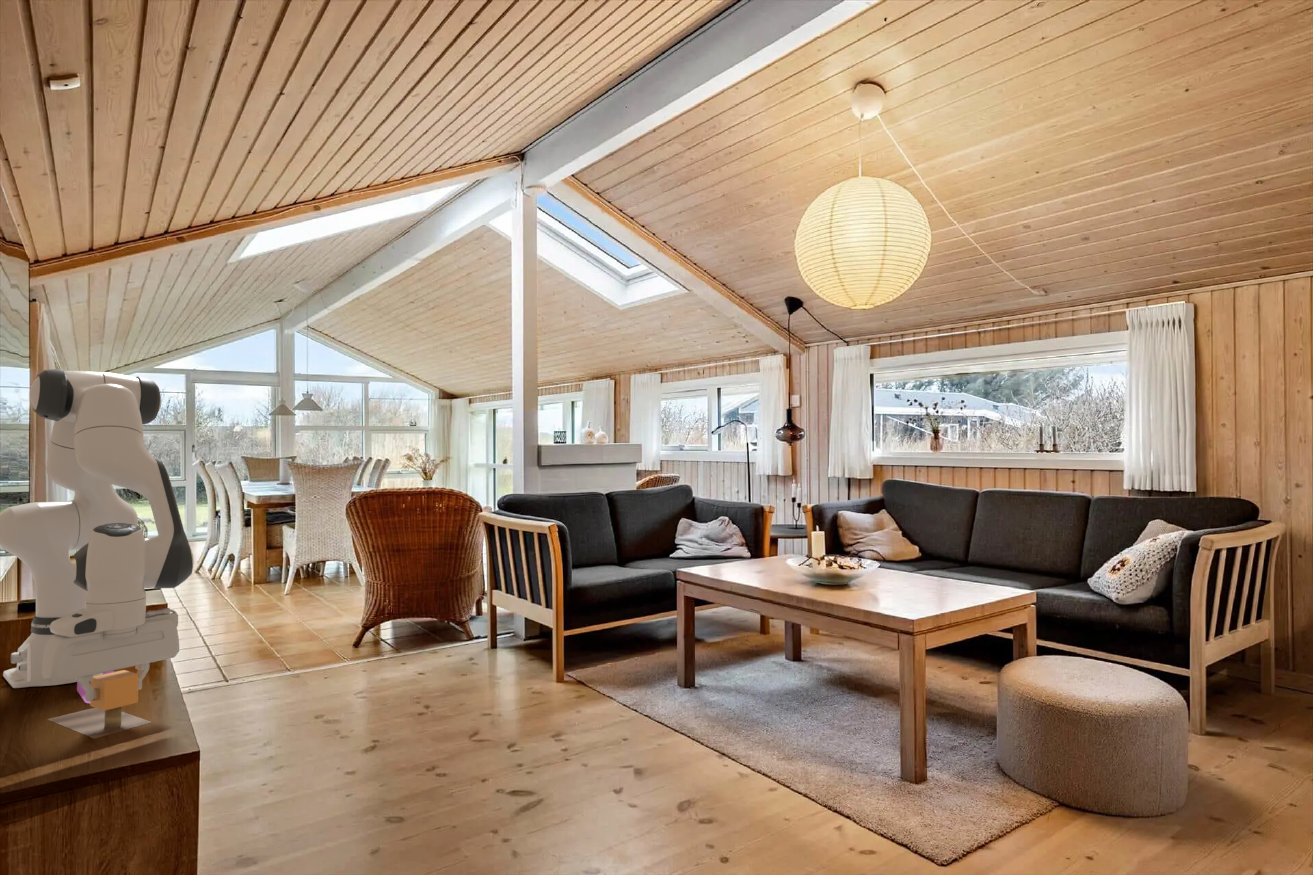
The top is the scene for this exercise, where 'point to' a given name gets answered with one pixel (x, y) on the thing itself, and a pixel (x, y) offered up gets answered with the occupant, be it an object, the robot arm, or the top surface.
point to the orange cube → (115, 689)
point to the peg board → (99, 721)
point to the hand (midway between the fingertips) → (114, 695)
